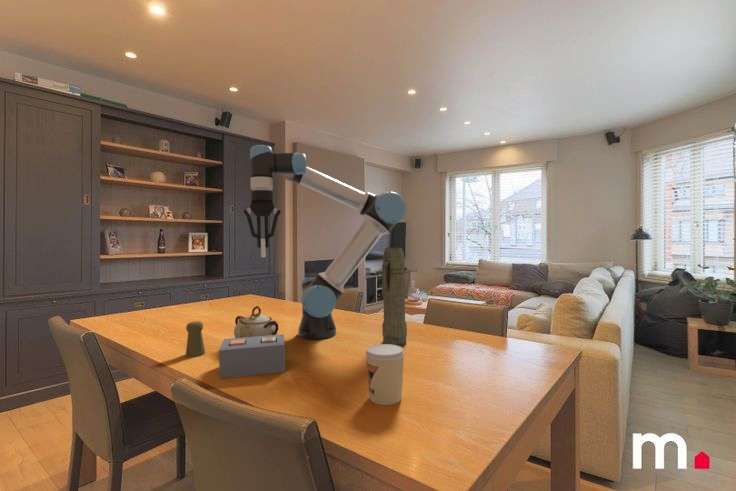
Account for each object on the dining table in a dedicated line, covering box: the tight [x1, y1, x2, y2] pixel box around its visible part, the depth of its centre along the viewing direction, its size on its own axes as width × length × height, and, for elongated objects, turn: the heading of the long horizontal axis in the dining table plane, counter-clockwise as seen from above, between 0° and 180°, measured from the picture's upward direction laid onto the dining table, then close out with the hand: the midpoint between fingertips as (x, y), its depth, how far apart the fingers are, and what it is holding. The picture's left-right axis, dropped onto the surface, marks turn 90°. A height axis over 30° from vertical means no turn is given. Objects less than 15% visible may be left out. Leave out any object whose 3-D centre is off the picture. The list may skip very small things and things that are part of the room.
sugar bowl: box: [233, 305, 279, 338], centre depth 133 cm, size 20×15×15 cm
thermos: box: [381, 246, 408, 347], centre depth 138 cm, size 9×12×35 cm
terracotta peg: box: [230, 339, 245, 346], centre depth 112 cm, size 4×4×8 cm
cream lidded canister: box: [365, 343, 405, 406], centre depth 91 cm, size 9×9×12 cm
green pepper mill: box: [185, 321, 206, 358], centre depth 128 cm, size 6×6×11 cm
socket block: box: [218, 334, 286, 380], centre depth 113 cm, size 18×12×8 cm, turn 104°
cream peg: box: [262, 337, 276, 343], centre depth 114 cm, size 4×4×8 cm
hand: (263, 256), depth 133 cm, fingers closed
